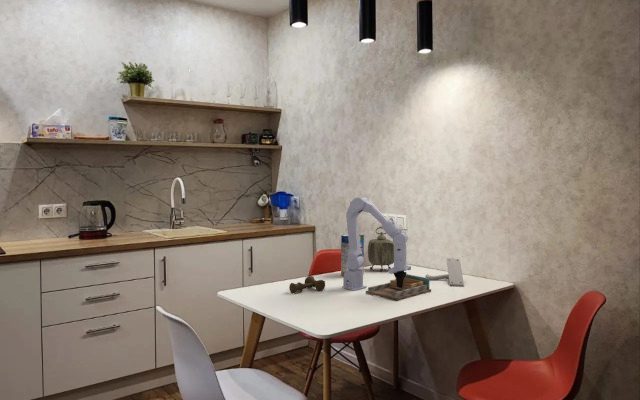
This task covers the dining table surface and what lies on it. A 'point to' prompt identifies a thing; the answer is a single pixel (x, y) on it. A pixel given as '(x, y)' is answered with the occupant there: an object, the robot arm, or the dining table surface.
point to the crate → (406, 283)
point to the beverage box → (346, 250)
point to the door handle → (451, 273)
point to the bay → (400, 294)
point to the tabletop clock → (381, 251)
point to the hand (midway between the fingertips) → (399, 287)
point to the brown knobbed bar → (307, 285)
